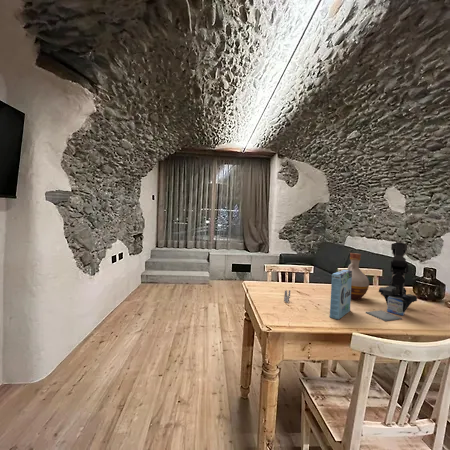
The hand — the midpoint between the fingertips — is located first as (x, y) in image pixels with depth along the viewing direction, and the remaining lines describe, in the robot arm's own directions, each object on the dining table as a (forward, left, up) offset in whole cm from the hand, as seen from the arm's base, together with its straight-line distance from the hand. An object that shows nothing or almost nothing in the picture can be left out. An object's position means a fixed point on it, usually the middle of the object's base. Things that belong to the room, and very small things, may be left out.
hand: (395, 309), depth 148 cm
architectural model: (-28, -47, -3) cm, 55 cm away
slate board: (+2, -12, -2) cm, 12 cm away
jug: (-28, -3, -2) cm, 28 cm away
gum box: (-6, -34, -2) cm, 35 cm away
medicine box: (0, 0, -2) cm, 2 cm away
